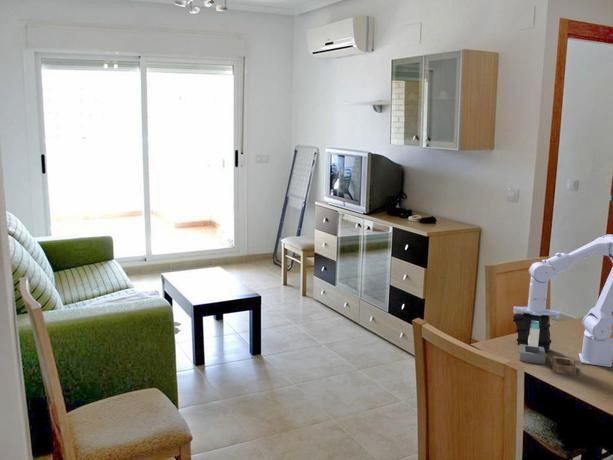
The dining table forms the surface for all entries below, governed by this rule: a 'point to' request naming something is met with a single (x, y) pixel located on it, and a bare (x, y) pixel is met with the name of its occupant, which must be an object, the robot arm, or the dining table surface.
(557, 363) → the brown wooden frame
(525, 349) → the port panel
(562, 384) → the dining table surface
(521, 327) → the black piece
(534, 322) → the plug
